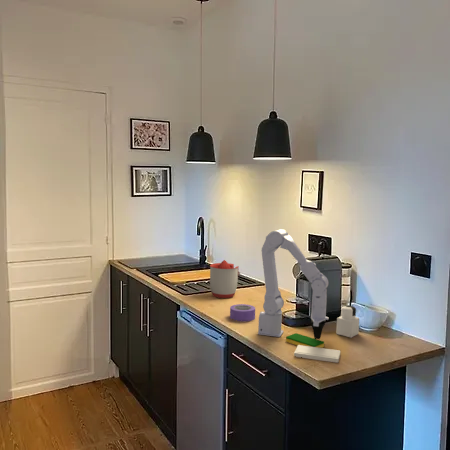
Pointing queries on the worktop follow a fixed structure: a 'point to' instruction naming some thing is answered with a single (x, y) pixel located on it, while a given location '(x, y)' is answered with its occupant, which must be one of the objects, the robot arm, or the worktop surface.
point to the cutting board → (317, 353)
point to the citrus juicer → (223, 279)
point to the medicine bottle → (347, 322)
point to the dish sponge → (304, 340)
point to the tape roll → (242, 312)
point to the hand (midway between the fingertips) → (317, 338)
